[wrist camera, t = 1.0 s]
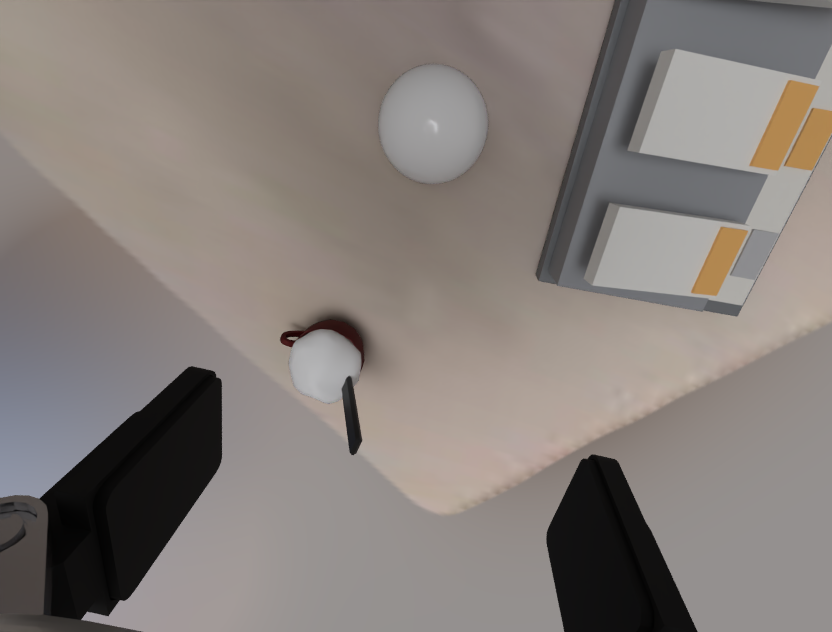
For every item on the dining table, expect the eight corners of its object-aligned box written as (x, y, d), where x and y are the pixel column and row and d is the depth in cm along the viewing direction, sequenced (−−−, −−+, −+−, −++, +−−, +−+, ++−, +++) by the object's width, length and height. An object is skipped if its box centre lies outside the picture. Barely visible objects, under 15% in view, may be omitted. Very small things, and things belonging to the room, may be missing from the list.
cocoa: (286, 329, 41) (213, 403, 30) (326, 288, 39) (263, 352, 28) (358, 394, 43) (314, 486, 32) (401, 359, 40) (369, 445, 30)
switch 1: (661, 51, 23) (678, 48, 22) (801, 82, 24) (825, 80, 23) (627, 150, 25) (641, 153, 24) (758, 173, 26) (778, 176, 25)
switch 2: (609, 202, 26) (621, 207, 25) (736, 221, 28) (753, 226, 26) (583, 278, 28) (593, 286, 27) (702, 292, 30) (717, 300, 29)
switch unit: (656, -142, 25) (699, -201, 20) (934, -99, 25) (1041, -149, 20) (535, 274, 36) (546, 297, 31) (726, 309, 36) (765, 336, 31)
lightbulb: (419, 60, 30) (399, 30, 20) (498, 103, 31) (515, 94, 21) (383, 146, 33) (349, 157, 23) (456, 185, 34) (455, 211, 24)
